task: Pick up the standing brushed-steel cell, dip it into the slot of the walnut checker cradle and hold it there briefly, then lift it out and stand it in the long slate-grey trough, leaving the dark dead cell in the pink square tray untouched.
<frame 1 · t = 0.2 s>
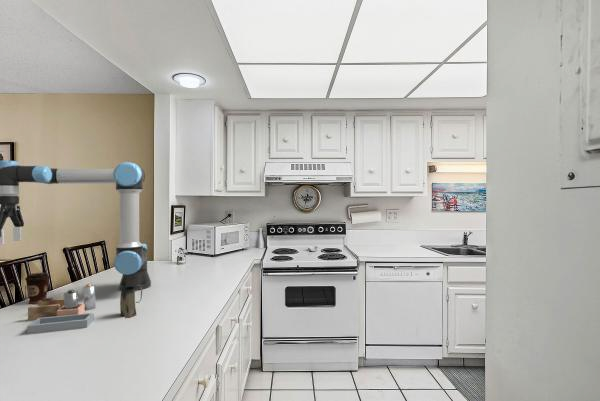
hand: (8, 242, 146), 28 cm above the countertop, fingers open, 13 cm apart
coffee cup: (37, 302, 149), on the countertop
mug: (131, 315, 131), on the countertop
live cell: (89, 309, 138), on the countertop
pink square tray: (71, 319, 127), on the countertop
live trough: (62, 328, 119), on the countertop
dead cell: (71, 318, 127), point 1 cm above the countertop, touching pink square tray
checker cradle: (49, 316, 131), on the countertop
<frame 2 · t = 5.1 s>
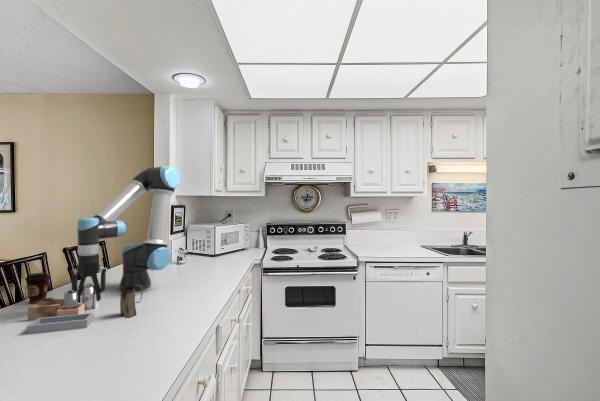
hand: (89, 309, 138), 0 cm above the countertop, fingers closed on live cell, 4 cm apart
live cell: (89, 309, 138), on the countertop, touching gripper
everything else where it was.
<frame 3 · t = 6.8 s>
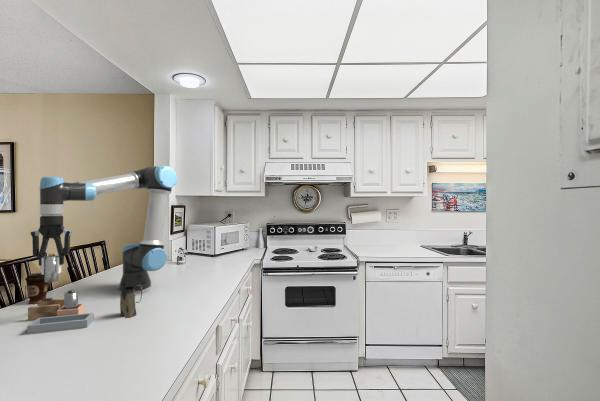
hand: (51, 273, 131), 17 cm above the countertop, fingers closed on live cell, 4 cm apart
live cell: (51, 280, 131), point 14 cm above the countertop, touching gripper
everything else where it was.
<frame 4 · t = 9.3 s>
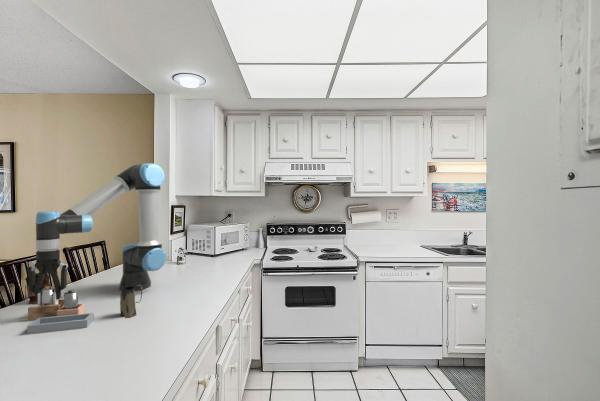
hand: (48, 307, 130), 4 cm above the countertop, fingers closed on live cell, 4 cm apart
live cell: (48, 313, 130), point 1 cm above the countertop, touching checker cradle, gripper
everything else where it was.
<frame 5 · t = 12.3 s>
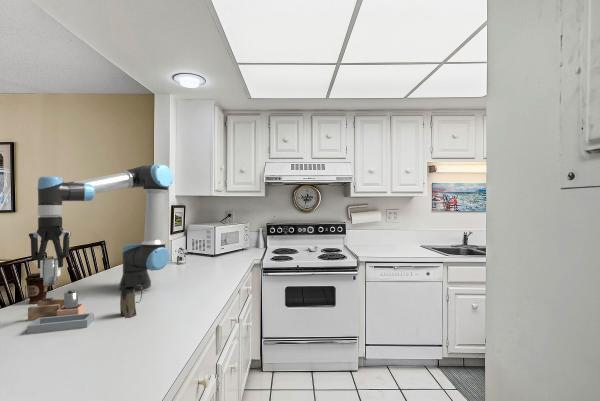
hand: (50, 276, 127), 17 cm above the countertop, fingers closed on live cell, 4 cm apart
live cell: (50, 284, 127), point 14 cm above the countertop, touching gripper
everything else where it was.
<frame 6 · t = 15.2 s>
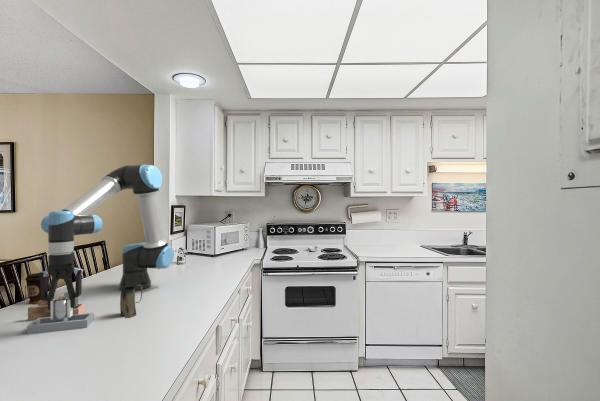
hand: (61, 317, 118), 4 cm above the countertop, fingers closed on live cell, 4 cm apart
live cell: (62, 326, 119), point 1 cm above the countertop, touching gripper, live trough
everything else where it was.
when the fingers open (2 cm above the countertop, at t = 16.3 s): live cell stays where it is, resting on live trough.
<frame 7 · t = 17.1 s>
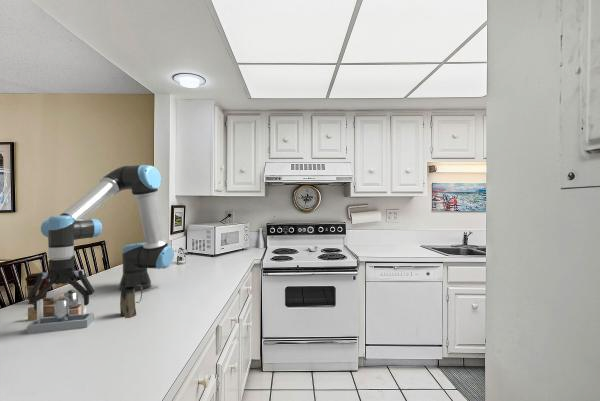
hand: (62, 316, 119), 4 cm above the countertop, fingers open, 13 cm apart
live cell: (62, 326, 119), point 1 cm above the countertop, touching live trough
everything else where it was.
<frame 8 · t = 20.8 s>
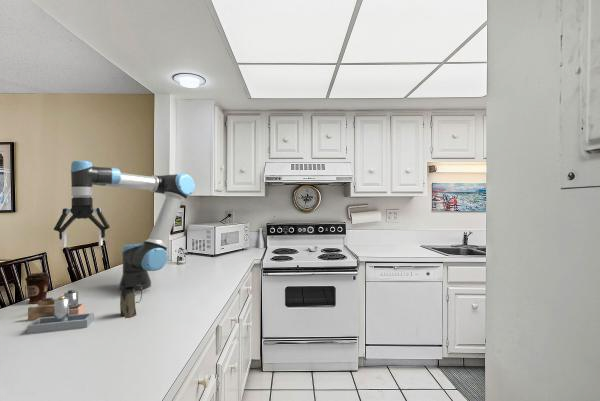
hand: (82, 246, 140), 27 cm above the countertop, fingers open, 13 cm apart
nothing on the countertop moved.
at the end: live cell inside the target area on the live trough (0.1 cm from its centre), point 0.6 cm above the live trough's base; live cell tilted 0°; the gripper is holding nothing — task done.
